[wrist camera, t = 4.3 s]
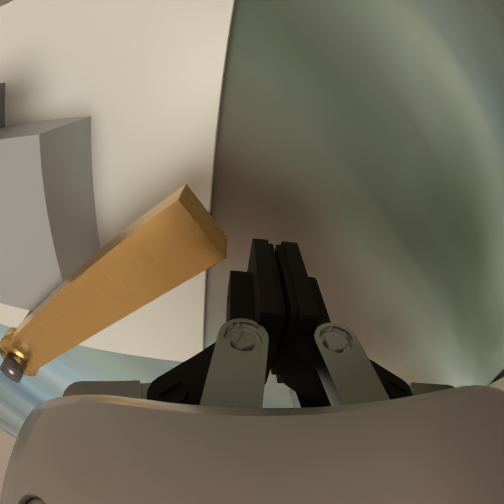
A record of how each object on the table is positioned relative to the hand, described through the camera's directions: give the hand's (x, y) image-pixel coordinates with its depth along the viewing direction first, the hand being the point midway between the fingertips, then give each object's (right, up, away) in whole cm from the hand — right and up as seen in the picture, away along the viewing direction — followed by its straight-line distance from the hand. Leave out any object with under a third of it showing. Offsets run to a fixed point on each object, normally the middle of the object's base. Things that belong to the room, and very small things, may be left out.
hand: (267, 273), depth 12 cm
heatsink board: (-15, +5, +5) cm, 16 cm away
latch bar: (-10, -2, +1) cm, 10 cm away
